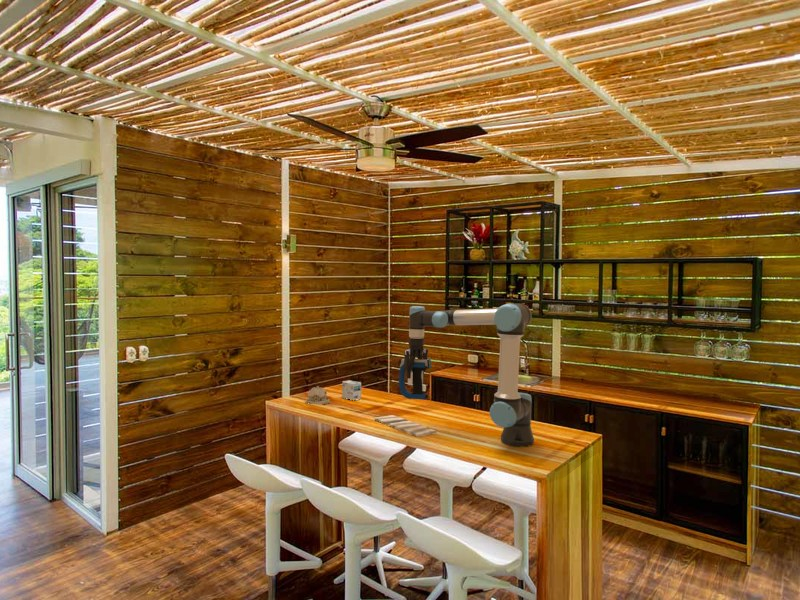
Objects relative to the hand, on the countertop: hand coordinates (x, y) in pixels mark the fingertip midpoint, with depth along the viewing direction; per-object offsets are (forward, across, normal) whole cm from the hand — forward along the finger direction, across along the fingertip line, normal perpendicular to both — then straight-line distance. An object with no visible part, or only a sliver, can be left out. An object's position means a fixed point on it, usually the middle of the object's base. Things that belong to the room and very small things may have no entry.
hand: (415, 384), depth 265 cm
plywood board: (+23, 0, -8) cm, 24 cm away
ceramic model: (+23, +14, -76) cm, 81 cm away
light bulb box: (+23, -9, -75) cm, 79 cm away
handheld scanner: (+7, 0, 0) cm, 7 cm away
